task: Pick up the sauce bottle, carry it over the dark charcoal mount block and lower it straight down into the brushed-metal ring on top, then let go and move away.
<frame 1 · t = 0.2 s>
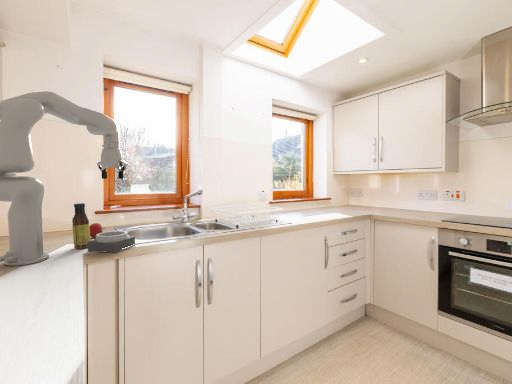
hand: (112, 178, 139), 31 cm above the worktop, tool pointing down, fingers open, 9 cm apart
sauce bottle: (82, 248, 116), on the worktop
tomato: (96, 238, 136), on the worktop
mount: (112, 248, 115), on the worktop
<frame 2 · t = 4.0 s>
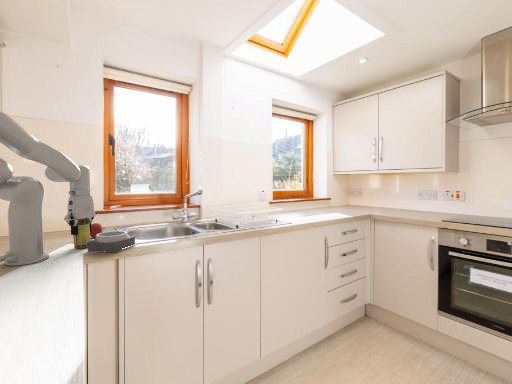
hand: (81, 232, 116), 7 cm above the worktop, tool pointing down, fingers closed on sauce bottle, 6 cm apart
sauce bottle: (82, 247, 116), on the worktop, touching gripper
everything else where it was.
when the fingers open (12 cm above the worktop, at t = 9.6 s): sauce bottle drops 1 cm, resting on mount.
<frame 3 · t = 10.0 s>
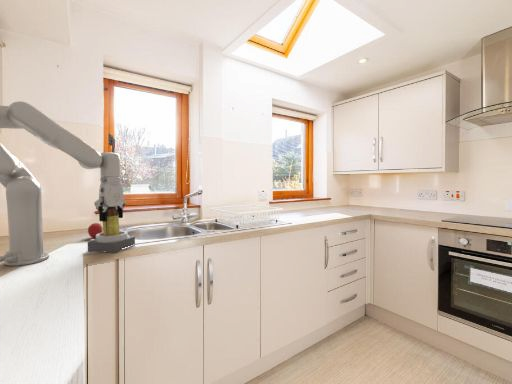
hand: (111, 219, 115), 13 cm above the worktop, tool pointing down, fingers open, 9 cm apart
sauce bottle: (111, 239, 115), point 4 cm above the worktop, touching mount
everything else where it was.
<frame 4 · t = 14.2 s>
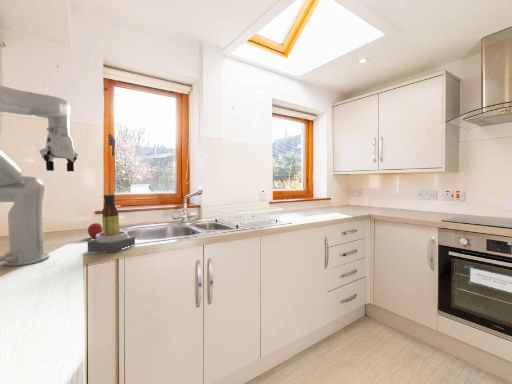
hand: (60, 170, 116), 34 cm above the worktop, tool pointing down, fingers open, 9 cm apart
nothing on the worktop moved.
at the end: sauce bottle inside the target area on the mount (0.3 cm from its centre), point 3.8 cm above the mount's base; sauce bottle tilted 0°; the gripper is holding nothing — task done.
